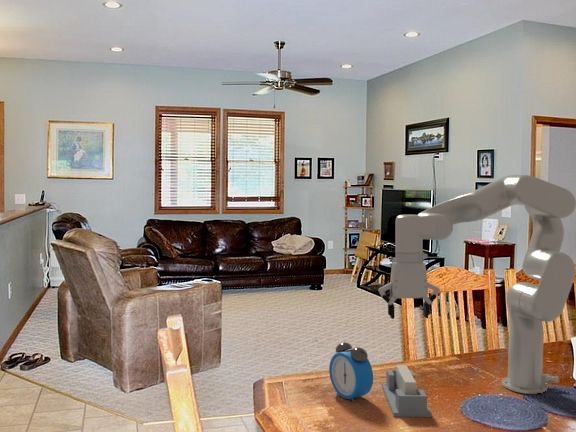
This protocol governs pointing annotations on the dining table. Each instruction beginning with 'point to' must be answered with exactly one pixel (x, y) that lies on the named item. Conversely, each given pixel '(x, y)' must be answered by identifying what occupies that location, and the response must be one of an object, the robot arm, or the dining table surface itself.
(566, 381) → the dining table surface
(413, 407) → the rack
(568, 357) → the dining table surface
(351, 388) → the alarm clock
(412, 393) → the light grey rectangular block
